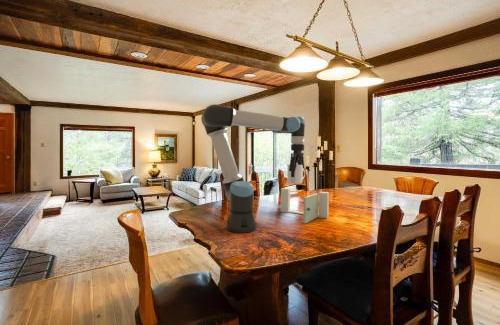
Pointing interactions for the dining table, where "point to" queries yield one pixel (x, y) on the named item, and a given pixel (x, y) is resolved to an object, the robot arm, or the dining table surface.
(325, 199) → the wall frame
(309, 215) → the door
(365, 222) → the dining table surface
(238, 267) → the dining table surface
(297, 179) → the mug
